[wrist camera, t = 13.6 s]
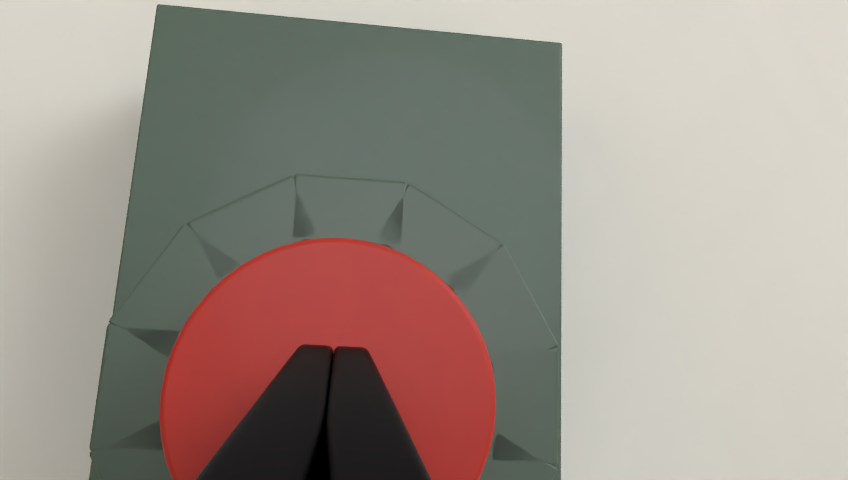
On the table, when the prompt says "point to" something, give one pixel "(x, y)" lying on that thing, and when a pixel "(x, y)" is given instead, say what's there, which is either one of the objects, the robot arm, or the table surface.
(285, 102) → the control block
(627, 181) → the table surface
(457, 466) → the button
